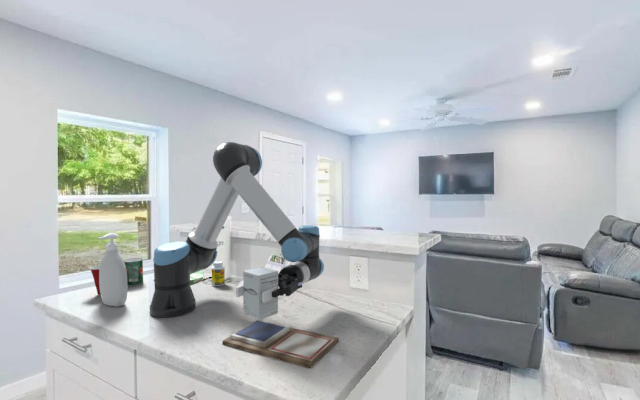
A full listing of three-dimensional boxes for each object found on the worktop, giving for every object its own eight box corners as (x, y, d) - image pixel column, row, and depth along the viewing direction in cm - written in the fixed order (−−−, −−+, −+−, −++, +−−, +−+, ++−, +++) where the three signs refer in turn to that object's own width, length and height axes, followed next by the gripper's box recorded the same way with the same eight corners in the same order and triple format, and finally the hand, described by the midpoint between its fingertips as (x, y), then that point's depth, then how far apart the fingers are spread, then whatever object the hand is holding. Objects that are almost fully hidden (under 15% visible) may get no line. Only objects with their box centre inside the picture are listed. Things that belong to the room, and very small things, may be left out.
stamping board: (222, 344, 95) (222, 335, 95) (258, 323, 109) (258, 316, 109) (310, 368, 82) (310, 359, 82) (338, 341, 96) (338, 333, 96)
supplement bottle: (213, 287, 148) (213, 264, 148) (210, 284, 153) (209, 261, 153) (226, 285, 151) (226, 262, 151) (222, 282, 156) (222, 260, 156)
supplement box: (242, 314, 98) (242, 270, 98) (262, 307, 104) (262, 266, 103) (258, 321, 93) (258, 275, 93) (278, 313, 99) (279, 270, 98)
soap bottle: (89, 305, 127) (86, 233, 126) (111, 298, 135) (108, 230, 133) (112, 311, 121) (110, 235, 119) (134, 304, 128) (132, 232, 127)
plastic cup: (114, 288, 149) (113, 260, 148) (125, 292, 143) (125, 263, 142) (85, 294, 140) (84, 265, 140) (97, 299, 134) (95, 269, 133)
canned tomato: (120, 284, 154) (119, 260, 154) (137, 280, 161) (136, 257, 160) (129, 287, 150) (128, 262, 149) (146, 283, 156) (146, 259, 156)
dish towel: (218, 276, 168) (218, 271, 168) (179, 289, 147) (179, 283, 147) (192, 272, 176) (191, 267, 176) (151, 284, 155) (151, 278, 155)
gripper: (322, 291, 109) (281, 315, 89) (268, 282, 119) (221, 301, 99) (322, 268, 109) (281, 287, 89) (268, 260, 119) (221, 276, 99)
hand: (249, 294), depth 94 cm, fingers closed on supplement box, 8 cm apart
